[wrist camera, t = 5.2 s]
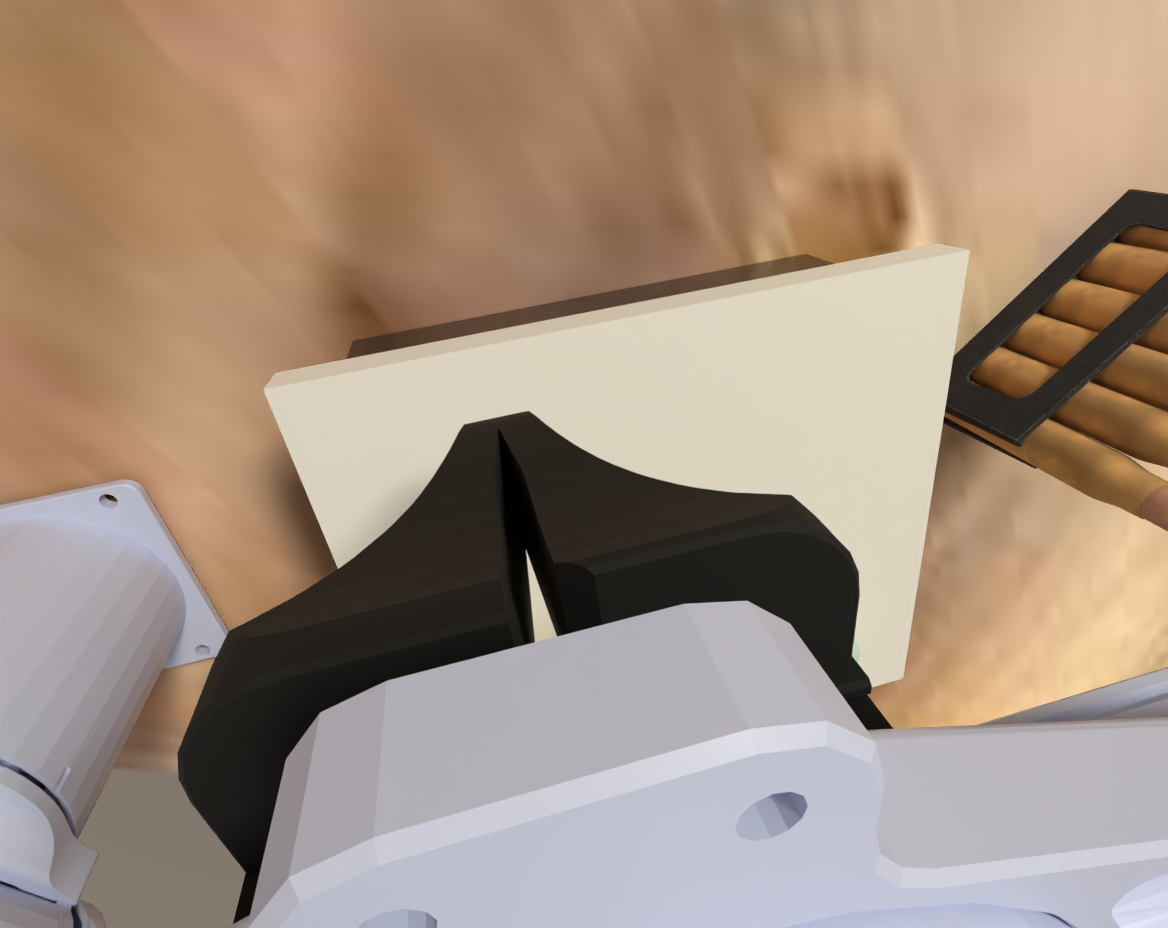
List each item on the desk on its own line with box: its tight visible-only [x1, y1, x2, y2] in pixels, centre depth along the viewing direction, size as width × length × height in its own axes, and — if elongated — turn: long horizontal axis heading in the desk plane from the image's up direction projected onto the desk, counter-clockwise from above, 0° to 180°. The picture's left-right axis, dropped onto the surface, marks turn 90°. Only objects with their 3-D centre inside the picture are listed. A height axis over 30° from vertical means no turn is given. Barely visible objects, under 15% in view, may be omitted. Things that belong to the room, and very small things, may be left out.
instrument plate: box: [263, 244, 970, 687], centre depth 18 cm, size 18×16×5 cm
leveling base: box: [347, 254, 834, 359], centre depth 22 cm, size 16×14×5 cm
